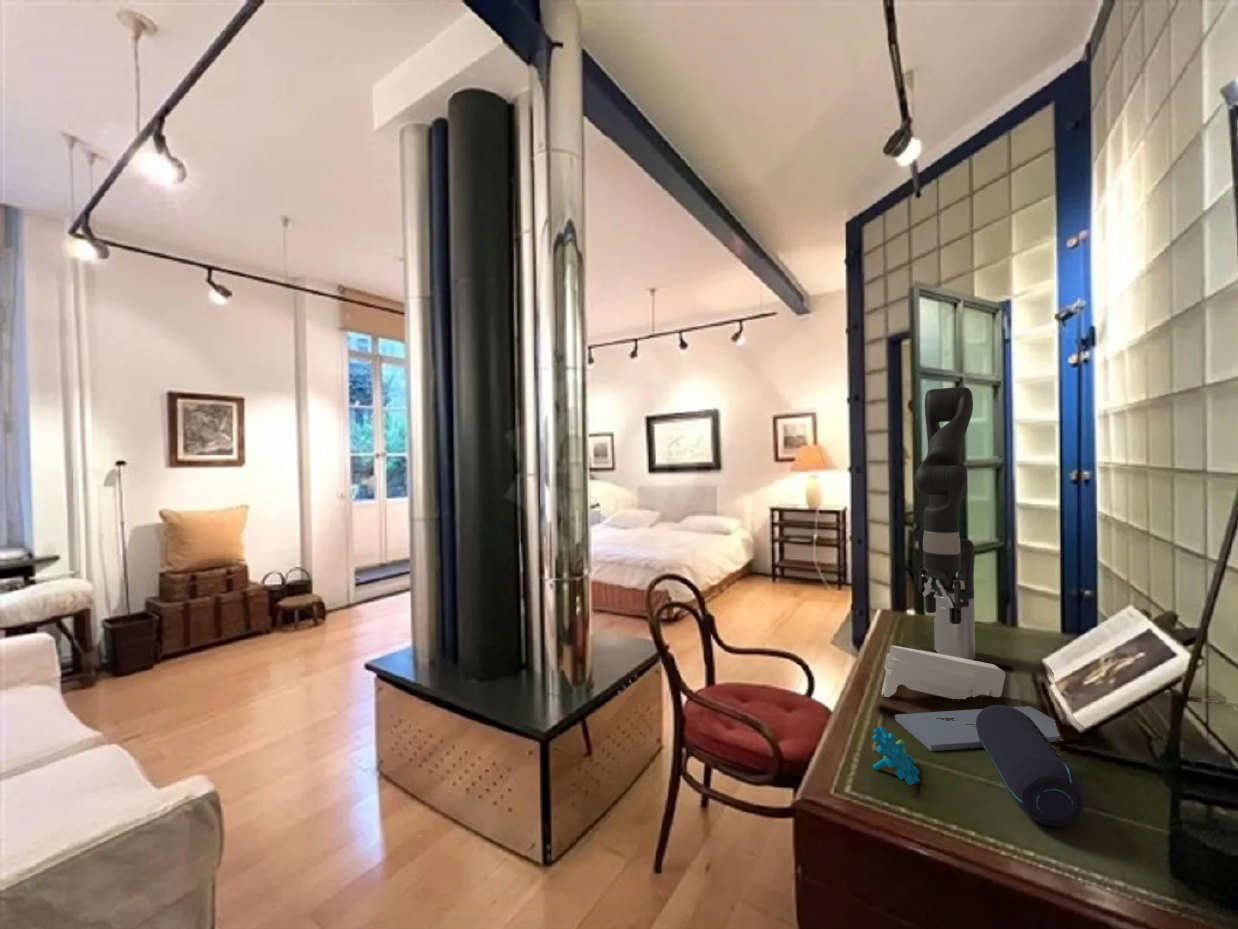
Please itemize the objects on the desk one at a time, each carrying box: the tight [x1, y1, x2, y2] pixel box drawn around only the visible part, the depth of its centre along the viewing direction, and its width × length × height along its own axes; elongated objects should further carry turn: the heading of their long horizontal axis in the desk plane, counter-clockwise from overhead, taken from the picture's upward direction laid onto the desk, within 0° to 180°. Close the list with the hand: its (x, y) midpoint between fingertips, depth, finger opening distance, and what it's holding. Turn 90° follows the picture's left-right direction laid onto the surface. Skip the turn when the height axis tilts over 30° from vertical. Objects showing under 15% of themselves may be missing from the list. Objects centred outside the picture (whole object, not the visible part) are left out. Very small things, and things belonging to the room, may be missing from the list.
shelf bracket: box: [880, 644, 1006, 700], centre depth 124 cm, size 6×25×13 cm, turn 84°
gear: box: [872, 726, 920, 786], centre depth 97 cm, size 11×6×10 cm
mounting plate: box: [894, 705, 1060, 752], centre depth 110 cm, size 12×31×1 cm, turn 94°
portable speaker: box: [976, 704, 1087, 827], centre depth 91 cm, size 25×10×10 cm, turn 160°
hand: (942, 617), depth 124 cm, fingers open, 8 cm apart
